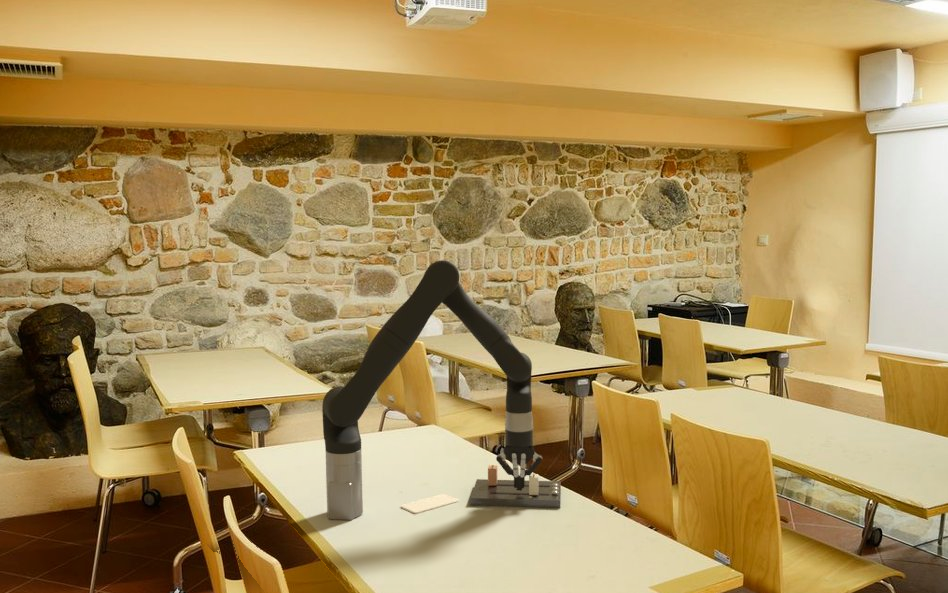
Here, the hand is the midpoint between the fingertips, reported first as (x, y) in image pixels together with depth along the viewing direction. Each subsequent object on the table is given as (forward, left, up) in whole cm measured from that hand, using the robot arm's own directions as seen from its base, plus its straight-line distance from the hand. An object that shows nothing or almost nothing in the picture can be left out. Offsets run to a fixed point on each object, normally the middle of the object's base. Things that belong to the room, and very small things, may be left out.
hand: (519, 489), depth 219 cm
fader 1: (+7, +8, -1) cm, 10 cm away
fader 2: (0, -4, -1) cm, 4 cm away
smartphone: (-5, +24, -4) cm, 25 cm away
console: (+3, +1, -3) cm, 5 cm away
